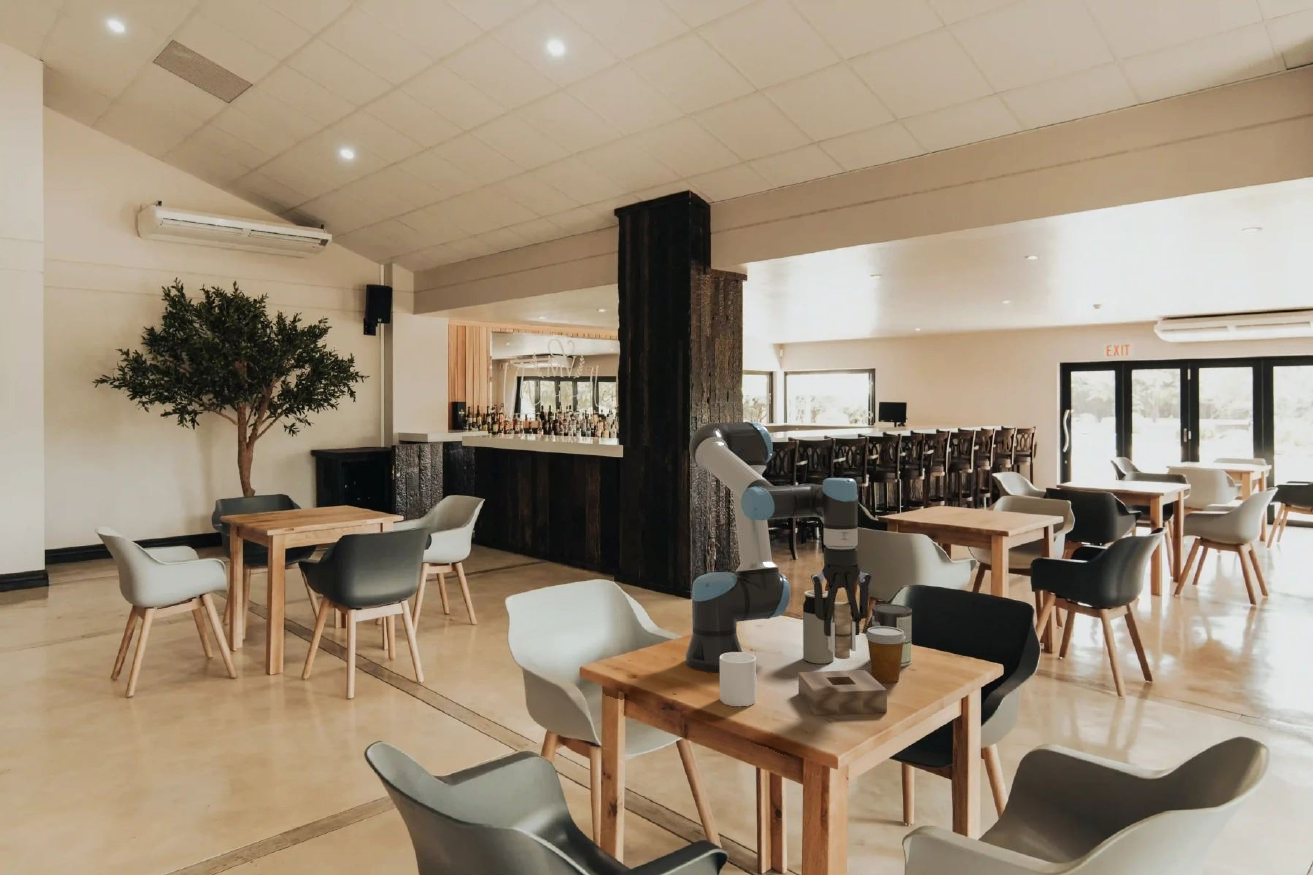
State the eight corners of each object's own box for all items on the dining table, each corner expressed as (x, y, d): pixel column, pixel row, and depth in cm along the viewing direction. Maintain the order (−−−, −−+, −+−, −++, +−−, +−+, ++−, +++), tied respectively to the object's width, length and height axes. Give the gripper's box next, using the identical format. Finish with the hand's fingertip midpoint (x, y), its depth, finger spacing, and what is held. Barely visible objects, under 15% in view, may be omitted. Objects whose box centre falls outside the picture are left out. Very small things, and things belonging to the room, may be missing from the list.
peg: (835, 659, 178) (835, 606, 178) (830, 654, 182) (829, 602, 182) (853, 658, 178) (853, 605, 178) (847, 653, 182) (847, 601, 182)
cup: (713, 703, 181) (713, 659, 180) (735, 688, 191) (735, 646, 191) (747, 710, 176) (747, 664, 176) (767, 693, 187) (767, 650, 187)
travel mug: (797, 659, 214) (796, 592, 213) (817, 653, 218) (816, 588, 218) (819, 666, 207) (819, 597, 207) (839, 660, 212) (839, 593, 212)
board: (815, 715, 173) (815, 692, 173) (798, 693, 187) (798, 672, 187) (886, 712, 174) (886, 689, 174) (865, 690, 188) (864, 669, 188)
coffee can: (876, 666, 206) (876, 612, 206) (867, 655, 217) (867, 603, 216) (917, 667, 206) (916, 612, 206) (905, 655, 216) (905, 603, 216)
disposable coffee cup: (904, 674, 200) (903, 626, 200) (907, 686, 191) (907, 636, 191) (865, 671, 202) (864, 624, 202) (866, 683, 193) (866, 634, 193)
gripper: (808, 549, 175) (809, 655, 176) (883, 548, 177) (884, 652, 177) (799, 545, 183) (800, 646, 183) (871, 543, 184) (872, 644, 184)
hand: (841, 649), depth 180 cm, fingers closed on peg, 4 cm apart
